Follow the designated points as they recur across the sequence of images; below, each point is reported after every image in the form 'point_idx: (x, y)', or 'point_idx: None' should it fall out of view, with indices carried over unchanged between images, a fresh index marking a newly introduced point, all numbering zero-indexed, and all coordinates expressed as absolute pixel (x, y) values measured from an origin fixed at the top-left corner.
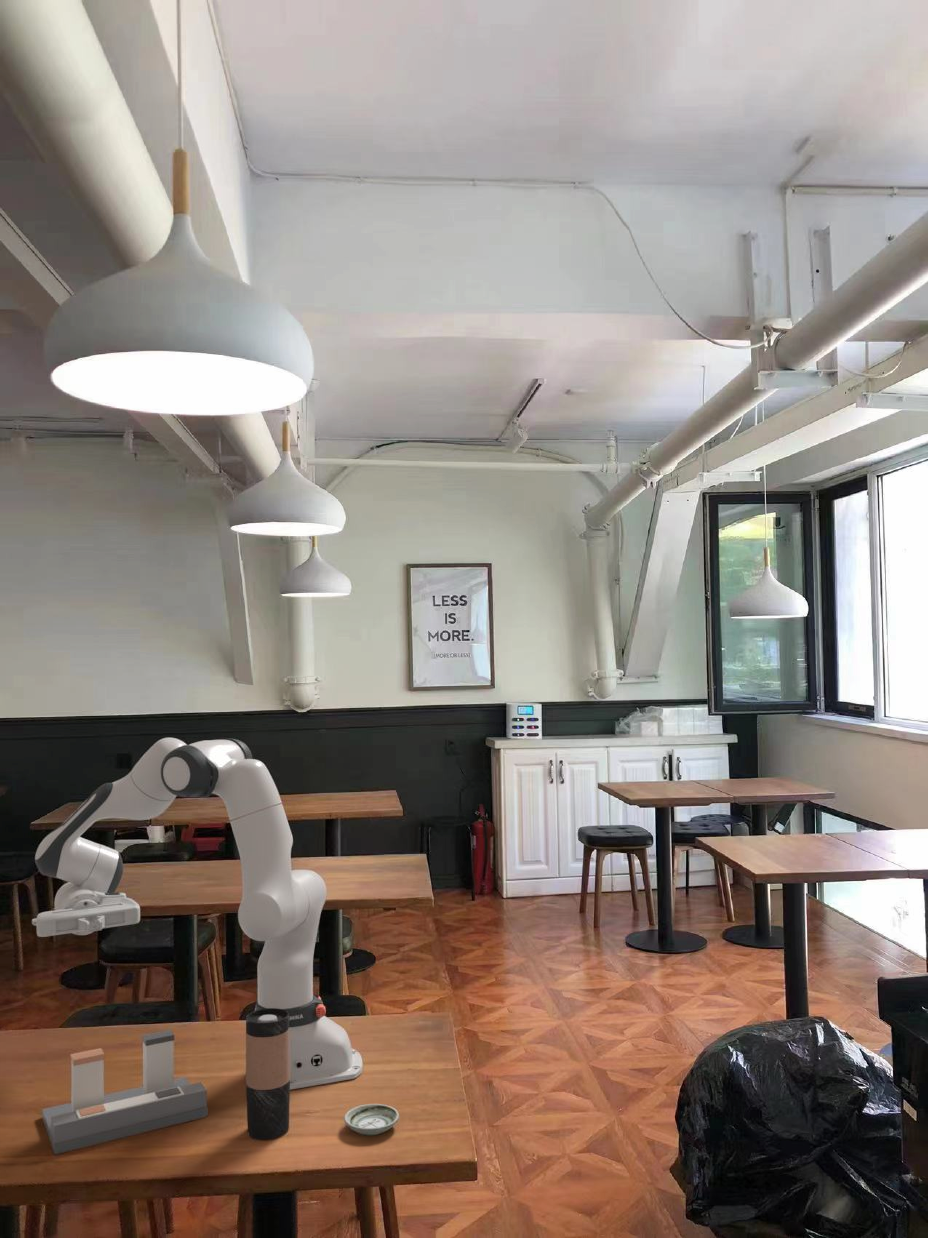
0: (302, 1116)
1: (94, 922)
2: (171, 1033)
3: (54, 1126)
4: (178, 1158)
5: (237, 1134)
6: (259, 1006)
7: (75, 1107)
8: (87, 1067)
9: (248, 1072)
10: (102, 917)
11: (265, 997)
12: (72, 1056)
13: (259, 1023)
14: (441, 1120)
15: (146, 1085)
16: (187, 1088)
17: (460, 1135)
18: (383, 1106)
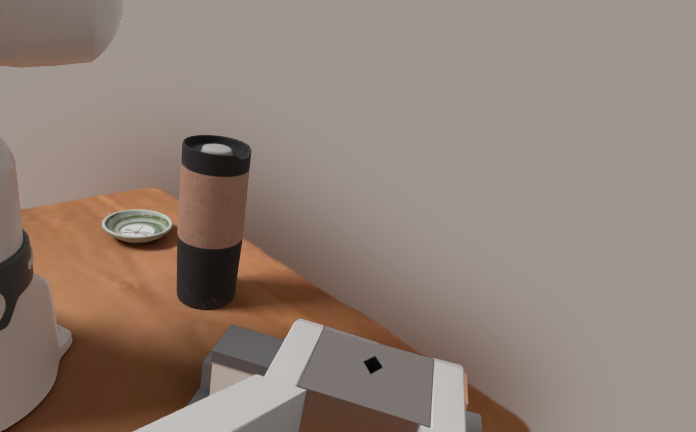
0: (146, 286)
1: (376, 345)
2: (229, 332)
3: (480, 415)
4: (326, 322)
5: (237, 311)
6: (7, 261)
7: None
8: None
9: (243, 221)
10: (186, 417)
11: (16, 226)
12: (466, 389)
13: (247, 145)
14: (87, 207)
15: None
16: None
17: (114, 194)
18: (105, 223)
